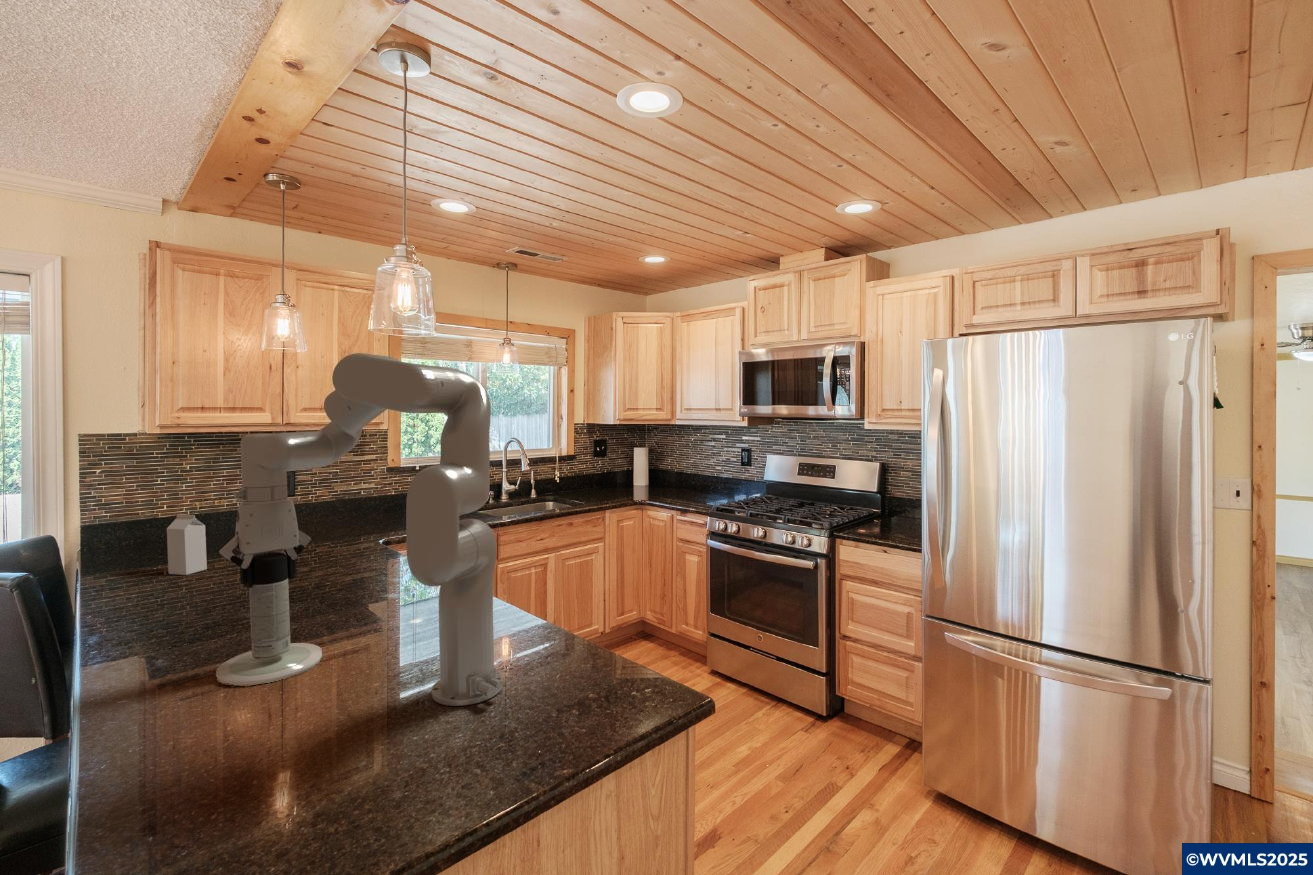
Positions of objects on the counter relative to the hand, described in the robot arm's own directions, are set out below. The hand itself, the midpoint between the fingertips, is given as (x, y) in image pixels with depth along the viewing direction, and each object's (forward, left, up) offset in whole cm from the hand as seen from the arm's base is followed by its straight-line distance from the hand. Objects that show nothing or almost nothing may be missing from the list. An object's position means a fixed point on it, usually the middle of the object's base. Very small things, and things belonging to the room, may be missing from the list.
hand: (268, 581), depth 119 cm
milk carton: (+105, -9, -18) cm, 107 cm away
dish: (0, 0, -17) cm, 17 cm away
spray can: (0, 0, -15) cm, 15 cm away
